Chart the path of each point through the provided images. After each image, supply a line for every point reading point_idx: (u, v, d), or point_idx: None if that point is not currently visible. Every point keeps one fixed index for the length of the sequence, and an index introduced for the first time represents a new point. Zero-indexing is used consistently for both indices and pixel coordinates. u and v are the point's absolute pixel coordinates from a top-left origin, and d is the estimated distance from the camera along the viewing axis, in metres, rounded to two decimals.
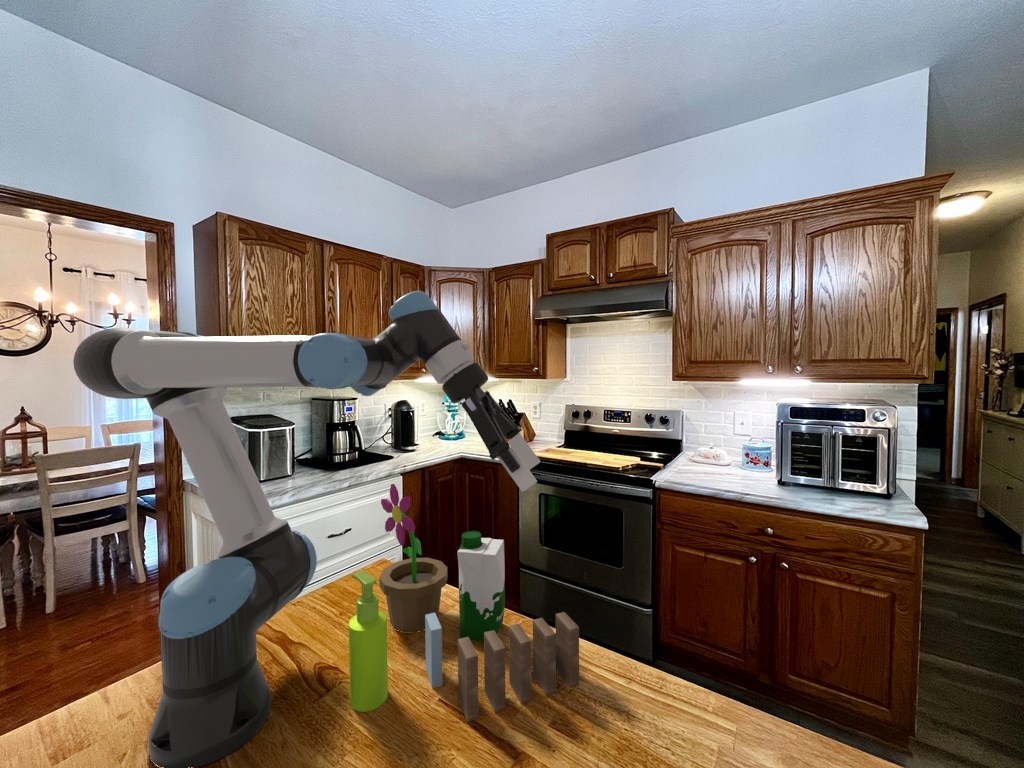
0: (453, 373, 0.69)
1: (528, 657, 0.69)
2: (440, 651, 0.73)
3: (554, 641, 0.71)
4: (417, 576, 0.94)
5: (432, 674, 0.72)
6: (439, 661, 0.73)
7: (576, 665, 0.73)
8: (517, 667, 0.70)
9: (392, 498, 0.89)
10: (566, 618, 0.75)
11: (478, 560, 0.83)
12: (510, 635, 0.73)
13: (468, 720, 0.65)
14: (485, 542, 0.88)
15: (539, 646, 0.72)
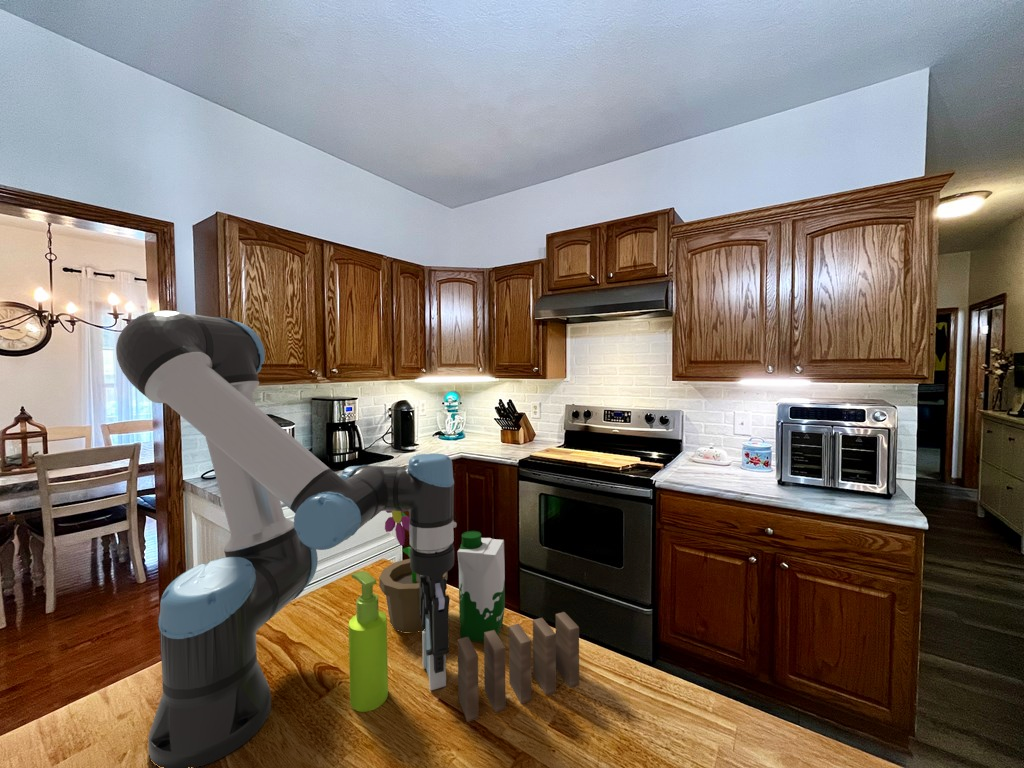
0: (436, 551, 0.71)
1: (528, 657, 0.69)
2: None
3: (554, 641, 0.71)
4: (417, 576, 0.94)
5: None
6: None
7: (576, 665, 0.73)
8: (517, 667, 0.70)
9: None
10: (566, 618, 0.75)
11: (478, 560, 0.83)
12: (510, 635, 0.72)
13: (468, 720, 0.65)
14: (485, 542, 0.88)
15: (539, 646, 0.72)
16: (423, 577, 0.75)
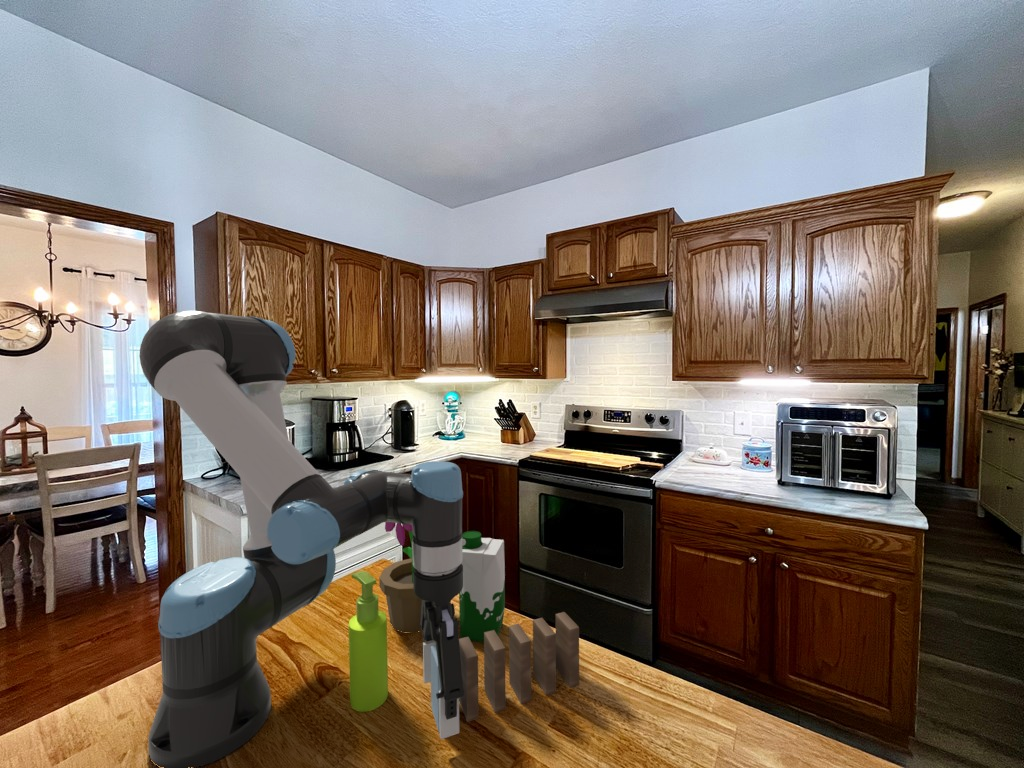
0: (442, 573, 0.62)
1: (528, 657, 0.69)
2: None
3: (554, 641, 0.71)
4: None
5: None
6: None
7: (576, 665, 0.73)
8: (517, 667, 0.70)
9: None
10: (566, 618, 0.75)
11: (478, 560, 0.83)
12: (510, 635, 0.73)
13: (468, 720, 0.65)
14: (485, 542, 0.88)
15: (539, 646, 0.73)
16: (428, 602, 0.66)
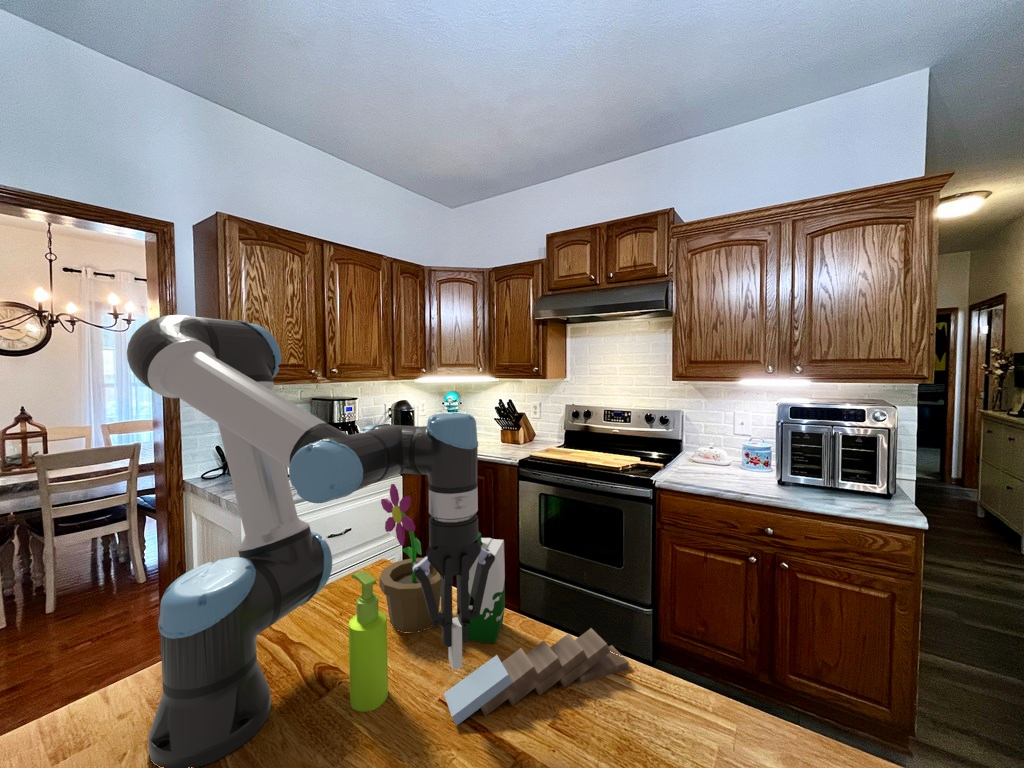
0: (433, 516, 0.65)
1: (574, 665, 0.73)
2: (490, 698, 0.67)
3: (604, 655, 0.75)
4: None
5: (465, 706, 0.65)
6: (480, 704, 0.66)
7: None
8: None
9: (392, 498, 0.89)
10: None
11: None
12: (564, 639, 0.77)
13: (482, 707, 0.66)
14: (485, 542, 0.88)
15: (585, 646, 0.76)
16: None
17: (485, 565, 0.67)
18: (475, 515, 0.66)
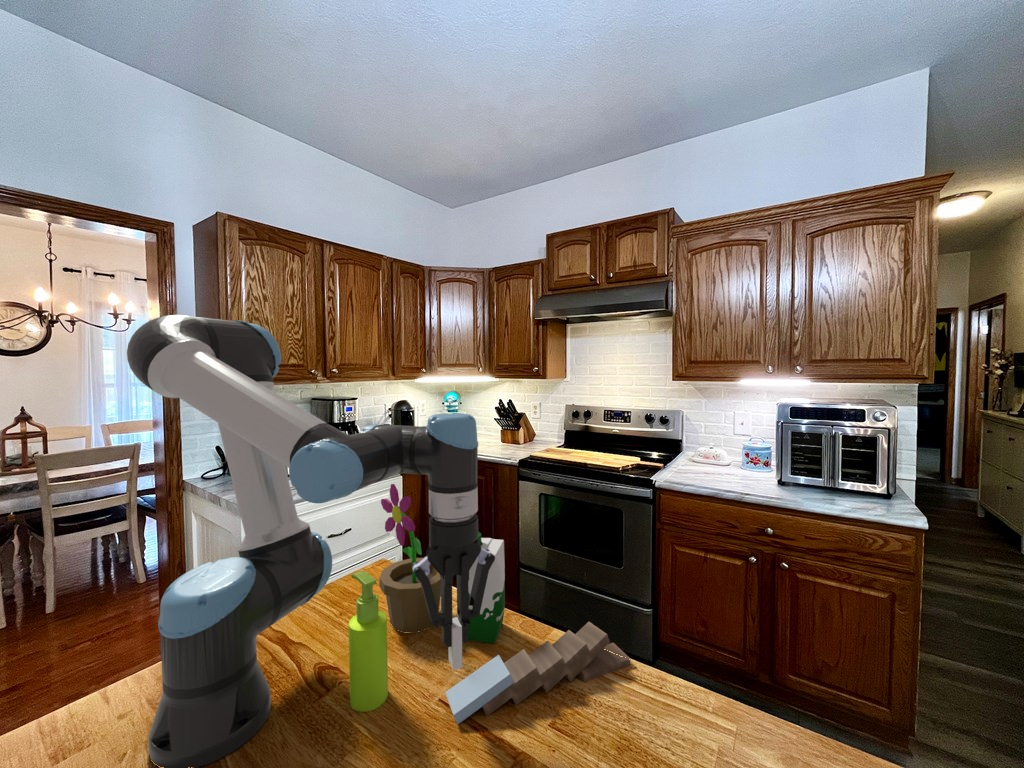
0: (433, 516, 0.65)
1: (578, 660, 0.74)
2: (491, 697, 0.67)
3: (604, 645, 0.77)
4: None
5: (467, 705, 0.65)
6: (481, 703, 0.66)
7: None
8: None
9: (392, 498, 0.89)
10: None
11: None
12: (566, 635, 0.78)
13: (484, 707, 0.66)
14: (485, 542, 0.88)
15: (586, 639, 0.78)
16: None
17: (485, 565, 0.67)
18: (475, 515, 0.66)
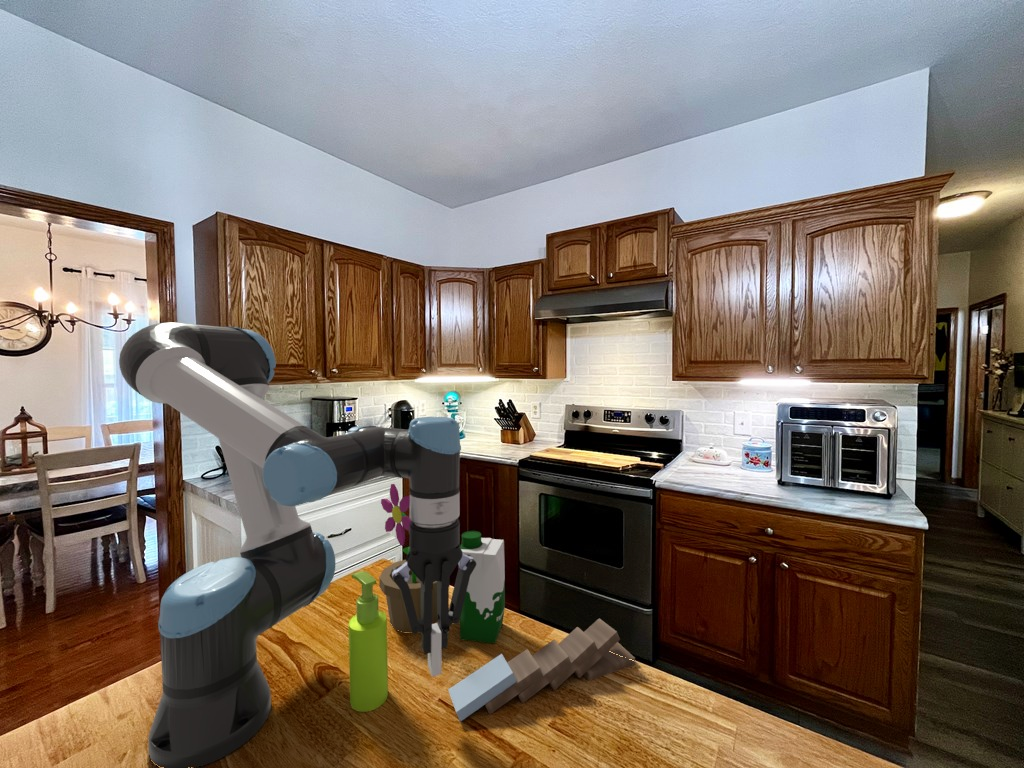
0: (413, 521, 0.64)
1: (585, 657, 0.74)
2: (494, 696, 0.67)
3: (614, 643, 0.77)
4: None
5: (470, 703, 0.66)
6: (484, 701, 0.67)
7: None
8: (569, 656, 0.74)
9: (392, 498, 0.89)
10: None
11: (478, 560, 0.83)
12: (574, 633, 0.78)
13: (487, 705, 0.67)
14: (485, 542, 0.88)
15: (595, 636, 0.78)
16: None
17: (466, 571, 0.66)
18: (457, 520, 0.65)
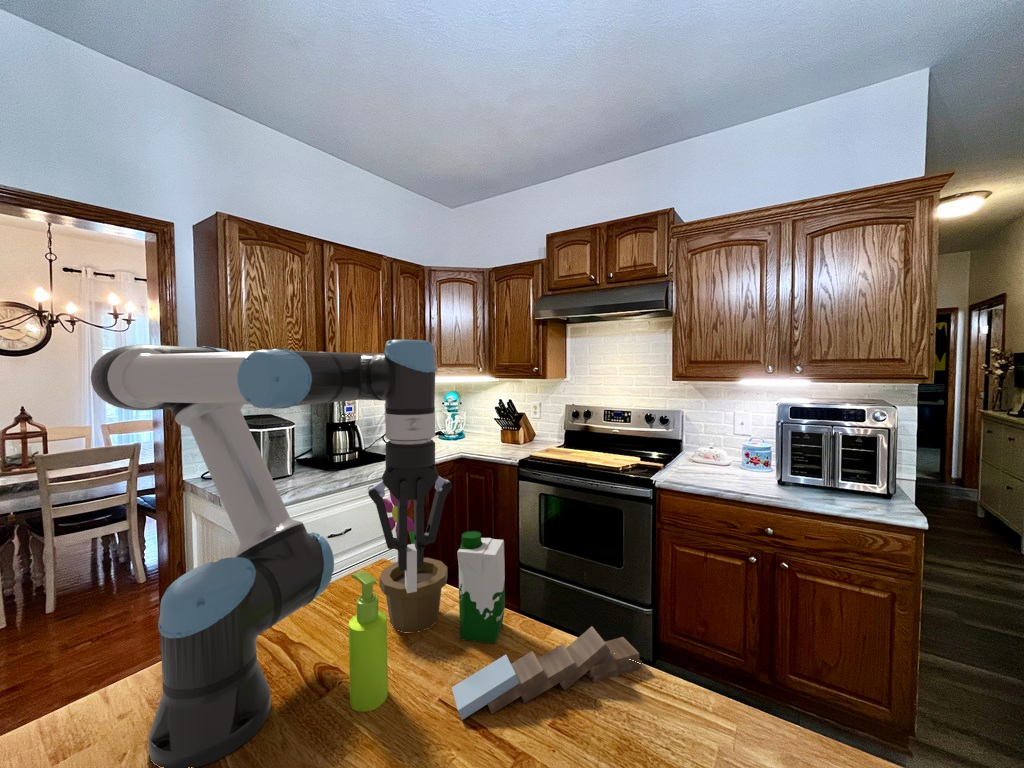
0: None
1: (597, 659, 0.73)
2: (496, 696, 0.67)
3: (633, 663, 0.76)
4: (417, 576, 0.94)
5: (472, 702, 0.66)
6: (486, 701, 0.67)
7: None
8: (580, 657, 0.74)
9: (392, 498, 0.89)
10: None
11: (478, 560, 0.83)
12: (588, 632, 0.77)
13: (489, 705, 0.67)
14: (485, 542, 0.88)
15: (616, 649, 0.78)
16: None
17: (442, 492, 0.68)
18: (432, 441, 0.67)
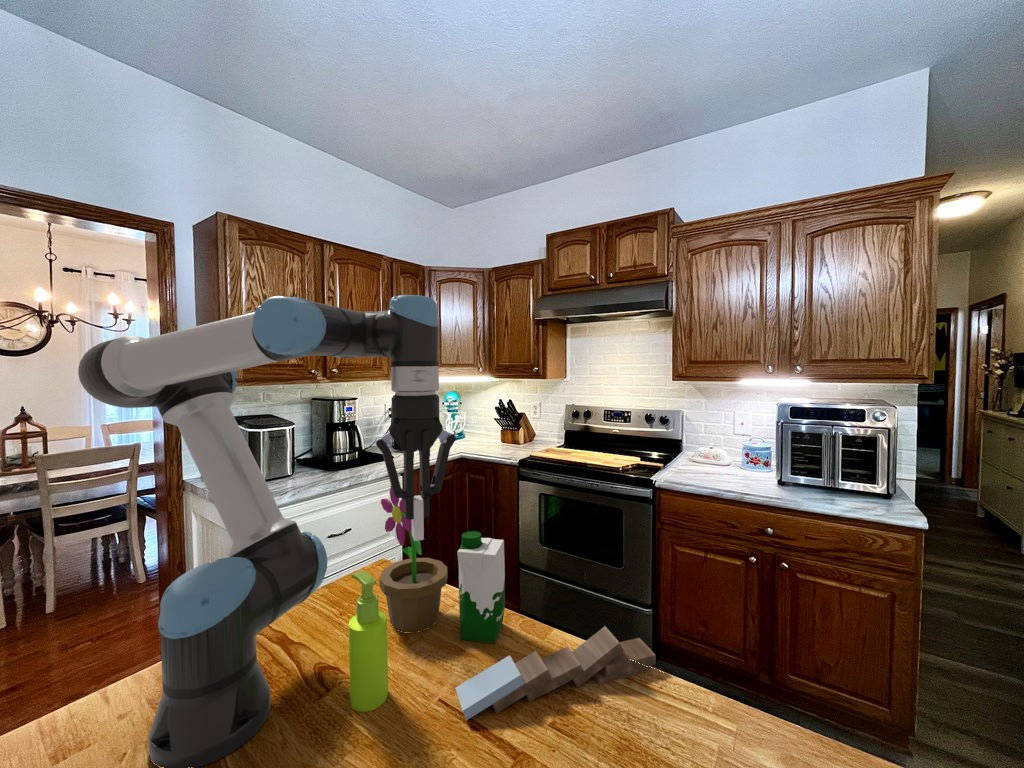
0: (395, 393, 0.68)
1: (610, 658, 0.74)
2: (501, 697, 0.67)
3: (649, 665, 0.76)
4: (417, 576, 0.94)
5: (476, 702, 0.66)
6: (490, 702, 0.67)
7: None
8: (594, 655, 0.74)
9: (392, 498, 0.89)
10: None
11: (478, 560, 0.83)
12: (601, 632, 0.78)
13: (494, 704, 0.67)
14: (485, 542, 0.88)
15: (632, 649, 0.78)
16: None
17: (446, 444, 0.70)
18: (436, 394, 0.69)
